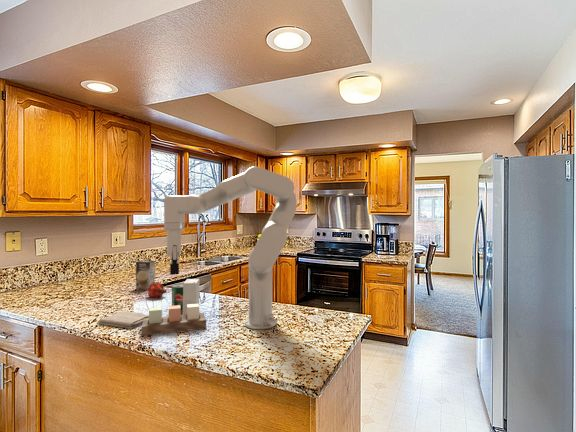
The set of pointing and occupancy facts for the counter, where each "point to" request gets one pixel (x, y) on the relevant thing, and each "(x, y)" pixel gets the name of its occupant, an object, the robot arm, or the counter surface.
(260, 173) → the robot arm
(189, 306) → the cream key
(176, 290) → the canned tomato
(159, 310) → the sage key
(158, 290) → the dragon fruit
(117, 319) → the washcloth
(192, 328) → the brown slotted tray
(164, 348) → the counter surface
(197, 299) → the skincare box
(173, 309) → the terracotta key
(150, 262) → the coffee box
